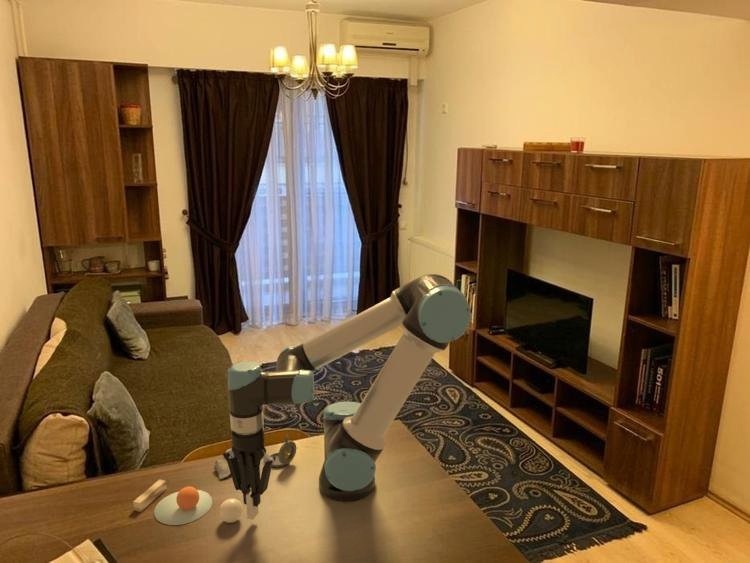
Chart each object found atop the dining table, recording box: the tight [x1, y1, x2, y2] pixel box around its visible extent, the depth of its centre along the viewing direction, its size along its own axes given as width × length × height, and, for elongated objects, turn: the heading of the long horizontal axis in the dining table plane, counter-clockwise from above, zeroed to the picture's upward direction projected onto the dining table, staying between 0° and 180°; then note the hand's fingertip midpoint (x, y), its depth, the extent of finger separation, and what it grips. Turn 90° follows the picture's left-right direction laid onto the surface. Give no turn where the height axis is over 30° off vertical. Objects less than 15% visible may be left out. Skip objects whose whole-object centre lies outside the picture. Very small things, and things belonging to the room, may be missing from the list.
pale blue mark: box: [153, 489, 213, 526], centre depth 141 cm, size 14×14×1 cm
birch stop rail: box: [132, 479, 168, 513], centre depth 144 cm, size 10×2×2 cm, turn 162°
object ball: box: [176, 486, 199, 510], centre depth 140 cm, size 6×6×6 cm
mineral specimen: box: [213, 456, 239, 480], centre depth 158 cm, size 6×12×4 cm, turn 134°
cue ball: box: [219, 498, 244, 524], centre depth 136 cm, size 6×6×6 cm
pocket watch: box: [269, 433, 297, 468], centre depth 159 cm, size 8×8×10 cm
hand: (252, 515), depth 135 cm, fingers closed
